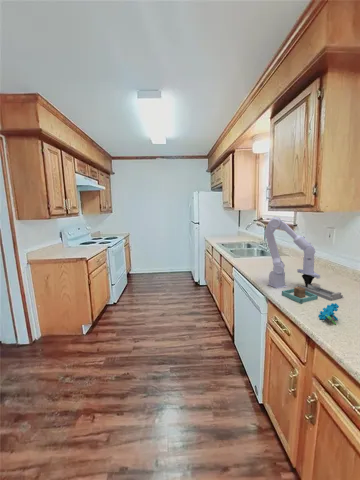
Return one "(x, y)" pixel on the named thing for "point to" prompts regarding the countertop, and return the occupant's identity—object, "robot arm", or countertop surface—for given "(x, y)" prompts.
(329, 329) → the countertop surface
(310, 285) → the light grey block
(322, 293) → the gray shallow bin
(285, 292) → the tray
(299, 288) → the stop block
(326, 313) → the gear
